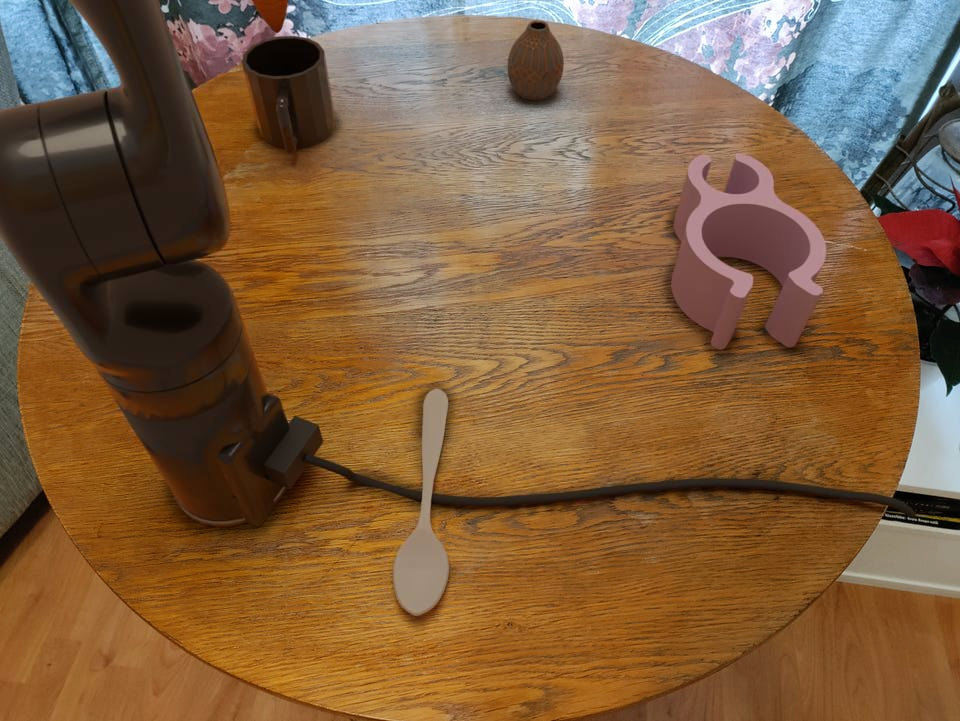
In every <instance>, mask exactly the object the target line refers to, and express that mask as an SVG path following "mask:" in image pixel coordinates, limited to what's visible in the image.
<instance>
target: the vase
mask: <svg viewBox="0 0 960 721" xmlns="http://www.w3.org/2000/svg"><path fill="white" fill-rule="evenodd" d="M564 61H565V60H564V54H563V48H562V47H561V45H560V42H559V41H558V40H557V38H556V37H555V35H554V34H553V33H552V31H551V29H550V26H549V24H548V23H547V22H546V21H544V20H539V19H538V20H537V19H536V20H532V21H530V22H529V23H528V24H527V26H526V28H525V30H524V31H523V32H522V33H521V34H520V35H519V37H518V38H516V40H515V41H514V42H513V44H512V46H511V48H510V50H509V54H508V58H507V77H508V80H509V83H510V86H511V88H512V89H513V90H514V92H515V93H516V94H517V95H518V96H519V97H521V98H522V99H525V100H529V101H542V100H544V99H547V98H548V97H549V96H551V95H552V94H553V93H554V92H555V91H556V90H557V89H558V87H559V85H560V84H561V80H562V78H563V74H564V66H565V65H564V64H565V62H564Z"/></svg>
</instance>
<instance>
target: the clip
mask: <svg viewBox="0 0 960 721" xmlns="http://www.w3.org/2000/svg"><path fill="white" fill-rule="evenodd" d="M712 160H713V159H712V157H710V156H709V155H708V154H700V155H698V156H696V157H695V158H693V159H692V160H691V162H690V163H689V165H688V168H687V171H686V176H685V179H684V182H683V185H682V190H681V194H680V198H679V201H678V205H677V209H676V213H675V217H674V220H673V231H674V233H675V235H676V237H677V239H678V240H679V241H680V247H679V250H678V254H677V256H676V261H675V264H674V268H673V272H672V274H671V279H670V280H671V281H670V285H671V286H670V287H671V293H672V297H673V299H674V301H675V303H676V304H677V306H678V308H680V310H681V311H682V312H683V313H684V315H686V316H687V317H688V318H689V319H690V320H691V321H692V322H694V323H695V324H697V325H699V326H700V327H701V328H704V329H706V330H708V331H710V332H711V333H713V334H712V337H711V340H710V345H711V347H713V348H714V349H716V350H718V351H720V350H721V351H722V350H724V349H726V347H727V345H729V343H730V341H731V340H732V337H733V335H734V333H735V330H736V328H737V325H738V323H739V320H740V319H741V316H742V313H743V311H744V308H745V306H746V303H747V300H748V297H749V295H750V293H751V290H752V288H753V285H754V276H753V275H752V274H751V273H749V272H745V271H742V270H739V269H737V268H735V267H732V266H730V265H728V264H727V263H725V262H723V261H721V260H720V259H719V258H735V259H741V260H744V261H748V262H750V263H753V264H755V265H757V266H760V267H761V268H763V269H765V270H766V271H768V272H769V273H770V274H771V275H773V276H774V278H775V279H776V280H777V281H778V282H779V284H780V285H781V287H782V288H781V290H780V292H779V295H778V297H777V299H776V302H775V303H774V306H773V307H772V310H771V312H770V314H769V317H768V319H767V321H766V323H765V326H764V328H765V330H766V332H767V333H768V334H769V336H771V338H773V339H774V340H776V341H777V342H778V343H780V344H781V345H783V346H784V347H786V348H794V347H795V346H796V345H797V344H798V342H799V339H800V337H801V335H802V333H803V331H804V329H805V327H806V325H807V323H808V322H809V320H810V318H811V316H812V314H813V311H814V310H815V308H816V306H817V304H818V302H819V300H820V298H821V296H822V294H823V293H824V289H823V288H822V286H820V285H819V284H817V283H816V280H817V277H818V276H819V275H820V272H821V270H822V268H823V265H824V263H825V261H826V259H827V258H826V257H827V245H826V241H825V239H824V236H823V234H822V232H821V231H820V229H819V228H818V227H817V225H816V224H815V223H814V222H813V221H812V219H810V218H809V217H808V216H806V215H805V214H804V213H802V212H801V211H799V210H798V209H796V208H795V207H793V206H791V205H788V204H787V203H786V202H784V201H783V200H781V199H780V197H778V196H777V194H776V193H775V189H774V184H775V181H774V177H773V174H772V172H771V171H770V170H769V168H768V167H766V165H764V163H762V162H761V161H759V160H757V159H756V158H754V157H752V156H750V155H747V154H744V153H736V154H735V156H734V159H733V162H732V165H731V169H730V172H729V175H728V178H727V181H726V185H725V188H724V191H721V190H718V189H716V188H714V187H712V186H711V185H709V184H708V183H707V178H708V175H709V171H710V167H711V164H712Z"/></svg>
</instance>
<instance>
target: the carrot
mask: <svg viewBox="0 0 960 721" xmlns="http://www.w3.org/2000/svg"><path fill="white" fill-rule="evenodd" d="M251 1H252V4H253V5H254V7H255V9H256V11H257V13H258V14H259V16H260V18H262V20H263V22H265V23H266V25H267V26H268V27H269V29H270V30H271V31H273V32H275V33H276V34H279V33H280V32H281V31H282V29H283V27H284V23H285V19H286V16H287V12H288V6H289V0H251Z"/></svg>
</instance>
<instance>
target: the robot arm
mask: <svg viewBox="0 0 960 721" xmlns="http://www.w3.org/2000/svg"><path fill="white" fill-rule="evenodd" d="M68 2H69V3H70V4H71V5H72V6H73V8H74V9H75V10H76V11H77V12H78V14H79V15H80V16H81V17H82V18H83V20H84V21H85V23H86V24H87V25H88V27H89V28H90V29H91V31H92V32H93V34H94V35H95V37H96V38H97V40H98V41H99V43H100V44H101V46H102V47H103V48H104V50H105V52H106V54H107V56H108V58H109V59H110V61H111V63H112V65H113V67H114V69H115V71H116V73H117V75H118V78H119V81H120V84H119V85H118V86H115V87H111V88H110V87H109V88H108V89H100V90H95V91H89V92H84V93H78V94H74V95H68V96H63V97H59V98H54V99H48V100H42V101H39V102H32V103H28V104H23V105H17V106H13V107H8V108H4V109H0V239H1V241H2V242H3V244H4V245H5V246H6V248H7V250H8V251H9V253H10V254H11V256H12V257H13V258H14V260H15V261H16V263H17V264H18V265H19V267H20V268H21V270H22V272H23V273H24V275H26V277H27V278H28V280H29V281H30V282H31V283H32V285H33V286H34V287H35V289H36V290H37V292H38V293H39V294H40V296H42V298H43V300H44V301H45V302H46V303H47V305H48V306H49V308H50V309H51V310H52V311H53V313H54V315H56V317H57V318H58V320H59V321H60V323H61V324H62V326H63V327H64V328H65V329H66V331H67V333H68V334H69V335H70V337H71V339H72V341H73V342H74V343H75V345H76V347H77V348H78V349H79V350H80V352H81V353H82V354H83V355H84V357H85V358H86V359H87V360H88V361H89V362H90V363H91V364H92V366H93V368H95V370H96V372H97V373H98V375H99V377H100V378H101V380H102V381H103V383H104V384H105V386H106V388H107V389H108V391H109V393H110V394H111V396H112V397H113V399H114V401H115V403H116V404H117V406H118V408H119V409H120V411H121V413H122V415H124V417H125V419H126V420H127V422H128V423H129V425H130V427H131V428H132V430H133V432H134V433H135V435H136V436H137V438H138V440H139V441H140V443H141V445H142V446H143V448H144V450H145V451H146V452H147V455H148V456H149V457H150V459H151V461H152V462H153V464H154V465H155V467H156V469H157V470H158V472H159V474H160V476H161V477H162V478H163V480H164V481H165V483H166V484H167V486H168V488H169V489H170V490H171V492H172V496H173V498H174V499H175V501H176V503H177V505H178V507H179V508H180V510H182V511H183V513H184V514H185V515H186V516H188V517H189V518H190V519H192V520H193V521H195V522H197V523H200V524H202V525H205V526H209V527H219V528H224V527H226V528H227V527H233V526H240V525H243V524H246V523H247V524H250V525H253V526H255V527H261V525H263V524H264V522H265V520H266V519H267V518H268V516H269V515H270V513H271V512H272V510H273V509H274V508H275V506H276V505H277V503H278V502H279V501H280V500H281V499H282V497H283V496H284V495H285V493H286V492H287V490H291V489H292V488H293V487H294V485H295V484H296V483H297V481H298V479H299V478H300V477H301V475H302V474H303V472H304V471H305V469H306V468H307V466H308V465H311V466H315V467H316V468H320V469H323V470H326V471H329V472H331V473H334V474H336V475H340V476H342V477H343V478H345V479H347V480H348V481H350V482H353V483H356V484H359V485H362V486H365V487H369V488H375V489H380V490H383V491H387V492H390V493H393V494H396V495H398V496H401V497H403V498H407V499H412V500H415V501H421V502H422V492H423V491H420V490H416V489H410V488H406V487H402V486H398V485H394V484H392V483H387V482H384V481H381V480H377V479H374V478H372V477H368V476H365V475H362V474H358V473H357V472H354V471H353V470H352V469H351V468H349V467H347V466H345V465H341V464H339V463H337V462H334V461H330V460H328V459H325V458H322V457H319V456H316V454H317V452H318V451H319V450H320V448H321V446H322V445H323V443H324V439H323V436H322V432H321V428H320V425H318V424H317V423H314V422H312V421H309V420H308V419H304V418H302V417H300V416H297V415H294V416H293V417H292V418H291V420H288V418H287V415H286V413H285V412H286V411H285V410H284V406H283V404H282V401H281V398H280V397H279V396H277V395H275V394H272V393H270V392H269V391H268V388H267V387H266V383H265V380H264V377H263V375H262V372H261V369H260V366H259V364H258V360H257V358H256V355H255V352H254V349H253V346H252V344H251V340H250V337H249V335H248V331H247V329H246V326H245V323H244V320H243V317H242V314H241V310H240V309H239V308H240V307H239V305H238V302H237V299H236V297H235V294H234V291H233V290H232V288H231V286H230V284H229V283H228V282H227V280H226V279H225V278H224V276H223V275H222V274H220V272H218V271H217V270H216V269H215V268H213V267H212V266H211V265H208V264H207V263H204V262H203V261H201V260H199V259H201V258H202V259H203V258H205V257H208V256H211V255H213V254H216V253H218V252H220V251H221V250H223V248H224V247H225V246H226V245H227V244H228V241H229V238H230V235H231V227H232V226H231V225H232V224H231V221H232V220H231V212H230V204H229V200H228V195H227V190H226V186H225V183H224V180H223V176H222V173H221V168H220V166H219V163H218V160H217V157H216V154H215V151H214V148H213V145H212V142H211V140H210V137H209V134H208V131H207V129H206V125H205V123H204V121H203V118H202V115H201V113H200V110H199V107H198V104H197V102H196V99H195V96H194V94H193V91H192V89H191V85H190V82H189V80H188V76H187V74H186V72H185V69H184V66H183V64H182V61H181V59H180V56H179V53H178V50H177V48H176V45H175V42H174V39H173V37H172V34H171V32H170V29H169V26H168V24H167V21H166V18H165V15H164V13H163V10H162V7H161V5H160V2H159V0H68ZM698 488H699V489H701V488H702V489H703V488H736V489H737V488H739V489H740V488H741V489H756V490H757V489H760V490H771V491H781V492H789V493H797V494H804V495H811V496H816V497H817V496H818V497H825V498H829V499H831V498H832V499H839V500H846V501H856V502H864V503H871V504H878V505H883V506H887V507H890V508H893V509H895V510H897V511H898V512H900V513H902V514H903V515H905V516H906V517H907V518H908V517H909V518H915V517H917V514H916V512H915V510H914V509H913V508H912V507H911V506H909V505H908V504H907V503H905V502H904V501H901V500H899V499H897V498H894V497H891V496H888V495H884V494H878V493H871V492H865V491H864V492H863V491H856V490H855V491H854V490H845V489H837V488H829V487H824V486H818V485H817V486H816V485H809V484H803V483H797V482H796V483H795V482H787V481H778V480H768V479H754V478H753V479H752V478H729V477H728V478H726V477H725V478H724V477H722V478H721V477H720V478H719V477H718V478H717V477H715V478H713V477H712V478H710V477H709V478H690V479H689V478H688V479H687V478H686V479H673V480H672V479H671V480H663V481H662V480H661V481H651V482H638V483H628V484H619V485H610V486H602V487H595V488H587V489H579V490H570V491H562V492H550V493H549V492H548V493H538V494H537V493H536V494H535V493H534V494H522V495H520V494H519V495H508V496H461V495H460V496H459V495H449V494H448V495H447V494H441V493H440V494H439V493H433V492H432V497H431V503H432V504H441V505H449V506H450V505H451V506H462V507H503V506H504V507H505V506H521V505H533V504H547V503H548V504H549V503H560V502H569V501H570V502H571V501H578V500H579V501H580V500H586V499H595V498H601V497H607V496H608V497H609V496H616V495H624V494H634V493H635V494H636V493H637V494H638V493H647V492H658V491H670V490H681V489H683V490H685V489H698Z"/></svg>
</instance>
